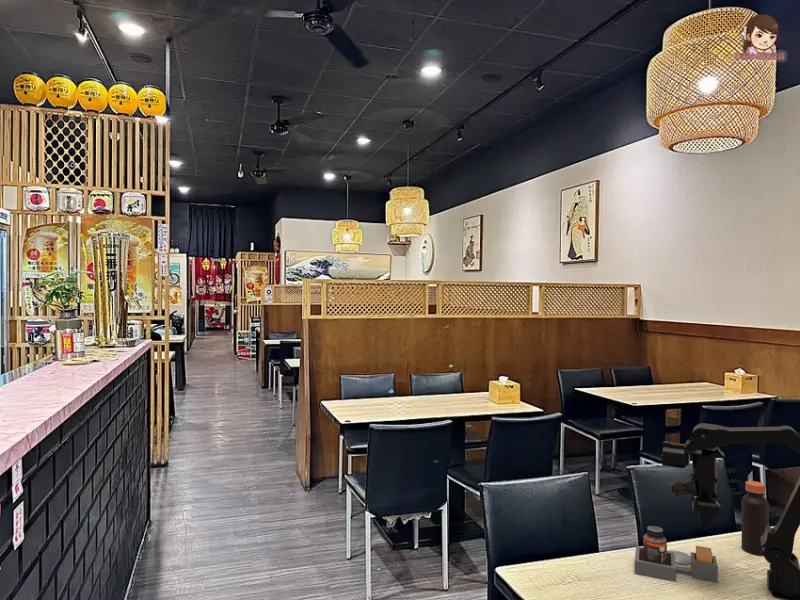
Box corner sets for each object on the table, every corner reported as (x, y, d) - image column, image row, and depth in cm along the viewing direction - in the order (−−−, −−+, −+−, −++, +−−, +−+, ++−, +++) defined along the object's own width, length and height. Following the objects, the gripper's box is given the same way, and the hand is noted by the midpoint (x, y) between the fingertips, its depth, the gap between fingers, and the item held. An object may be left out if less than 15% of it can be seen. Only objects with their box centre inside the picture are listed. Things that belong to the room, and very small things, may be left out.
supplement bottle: (669, 575, 149) (669, 534, 149) (646, 573, 150) (646, 532, 150) (663, 565, 155) (663, 525, 155) (641, 563, 156) (641, 523, 156)
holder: (715, 572, 151) (715, 556, 151) (719, 590, 142) (719, 572, 142) (635, 558, 159) (635, 542, 159) (634, 573, 150) (634, 557, 150)
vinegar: (763, 558, 159) (764, 489, 159) (737, 550, 164) (738, 483, 164) (772, 551, 163) (772, 484, 163) (746, 543, 169) (746, 478, 169)
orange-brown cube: (710, 562, 150) (710, 548, 150) (712, 568, 147) (712, 553, 147) (695, 560, 152) (695, 545, 152) (696, 565, 148) (696, 551, 148)
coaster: (692, 555, 161) (692, 553, 161) (694, 567, 154) (694, 565, 154) (662, 549, 164) (662, 548, 164) (662, 561, 157) (662, 560, 157)
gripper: (670, 458, 161) (670, 512, 161) (672, 477, 144) (671, 537, 144) (713, 463, 156) (713, 518, 156) (721, 483, 139) (721, 545, 139)
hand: (704, 529), depth 149 cm, fingers closed
